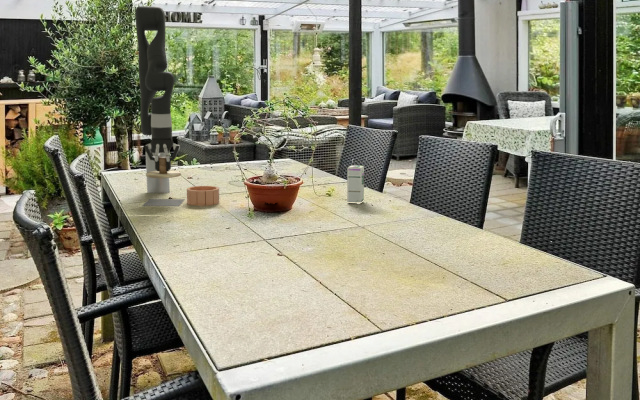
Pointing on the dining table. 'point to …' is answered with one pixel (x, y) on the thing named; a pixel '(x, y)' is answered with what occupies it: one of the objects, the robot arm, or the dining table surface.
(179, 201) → the mat
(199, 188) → the bowl
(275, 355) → the dining table surface
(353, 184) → the syrup box
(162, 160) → the lid
